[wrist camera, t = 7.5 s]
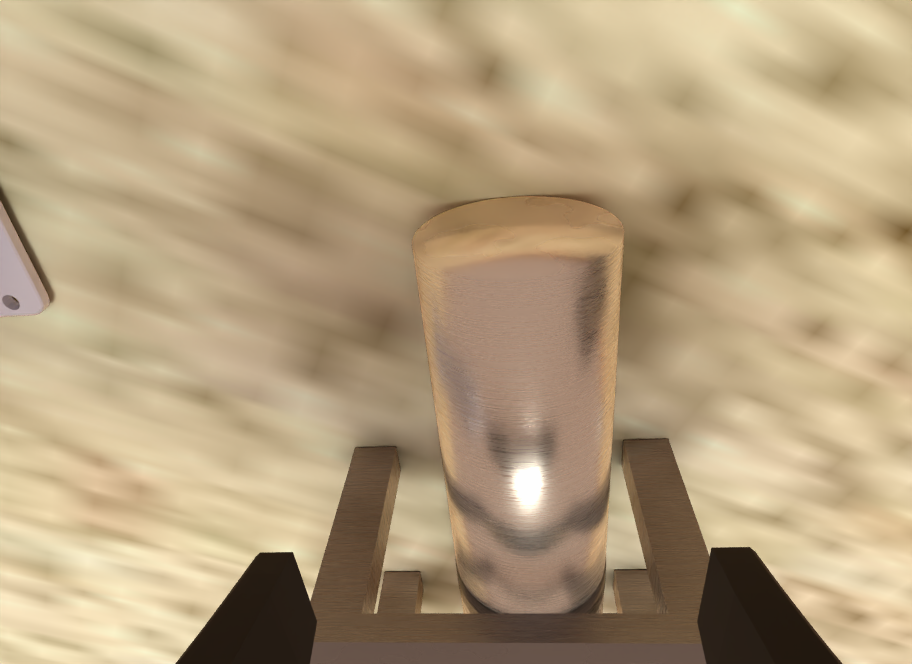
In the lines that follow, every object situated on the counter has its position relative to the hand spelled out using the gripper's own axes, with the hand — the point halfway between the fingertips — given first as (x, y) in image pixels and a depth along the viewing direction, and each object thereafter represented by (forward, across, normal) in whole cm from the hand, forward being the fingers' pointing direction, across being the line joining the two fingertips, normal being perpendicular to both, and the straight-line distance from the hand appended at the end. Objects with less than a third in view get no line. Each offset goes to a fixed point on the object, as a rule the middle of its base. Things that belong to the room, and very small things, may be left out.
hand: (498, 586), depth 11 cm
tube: (+9, 0, +5) cm, 11 cm away
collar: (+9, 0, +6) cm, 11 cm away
